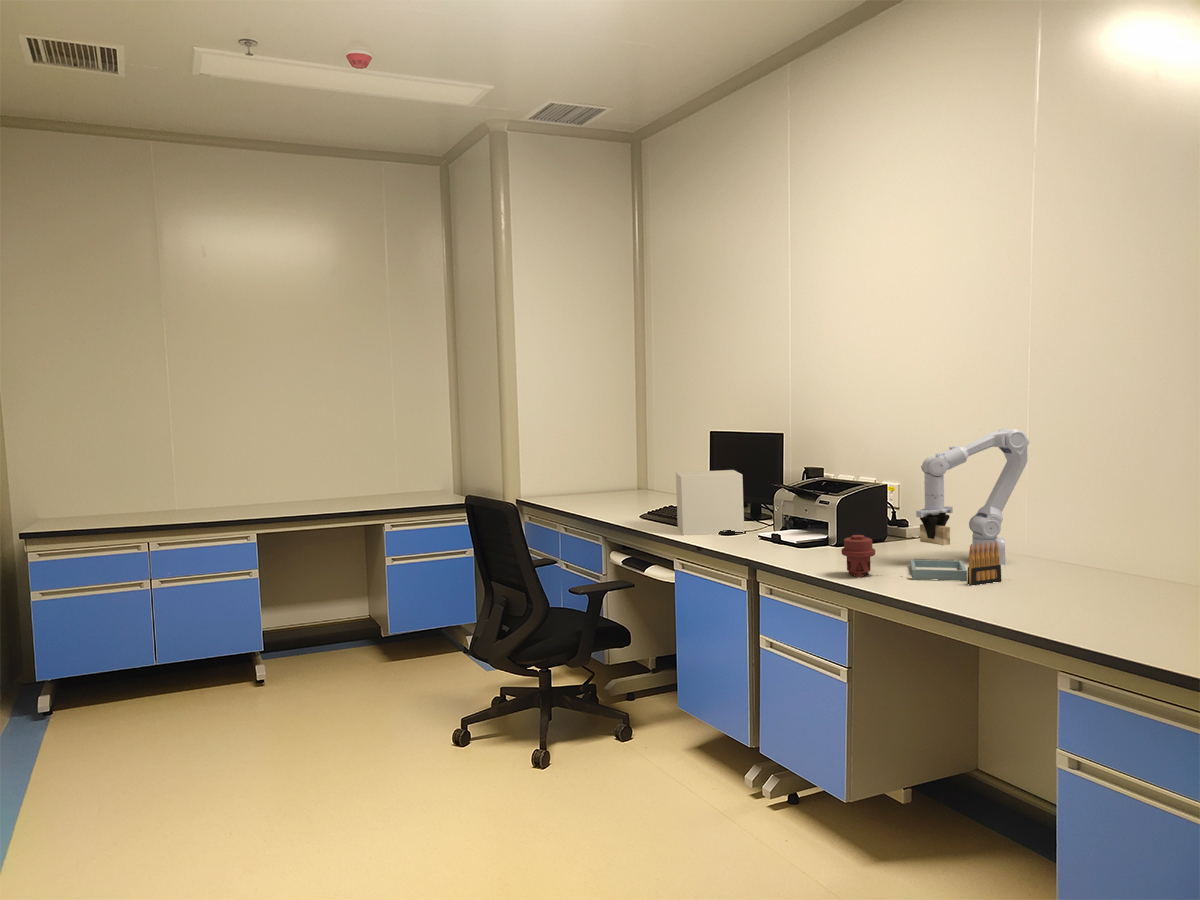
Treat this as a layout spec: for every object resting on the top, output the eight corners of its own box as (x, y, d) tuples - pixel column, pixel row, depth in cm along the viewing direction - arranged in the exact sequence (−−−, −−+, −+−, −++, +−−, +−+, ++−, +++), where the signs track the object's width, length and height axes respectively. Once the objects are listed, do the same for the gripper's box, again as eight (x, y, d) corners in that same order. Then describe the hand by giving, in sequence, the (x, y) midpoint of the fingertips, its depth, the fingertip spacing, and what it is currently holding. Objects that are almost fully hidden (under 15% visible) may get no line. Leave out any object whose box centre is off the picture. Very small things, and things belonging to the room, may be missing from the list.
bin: (962, 570, 266) (962, 560, 266) (967, 581, 252) (966, 571, 252) (910, 569, 271) (910, 559, 271) (912, 579, 257) (912, 569, 256)
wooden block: (926, 540, 277) (926, 523, 276) (950, 544, 269) (949, 526, 269) (920, 541, 275) (919, 524, 275) (943, 545, 267) (943, 527, 267)
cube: (735, 526, 372) (733, 469, 370) (744, 534, 351) (742, 474, 349) (677, 528, 372) (675, 472, 370) (683, 536, 350) (681, 477, 349)
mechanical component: (873, 572, 269) (877, 579, 259) (840, 571, 271) (843, 578, 261) (873, 533, 268) (876, 538, 258) (840, 533, 270) (842, 538, 260)
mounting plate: (953, 562, 278) (953, 559, 278) (956, 569, 269) (956, 565, 268) (914, 561, 282) (914, 558, 282) (915, 568, 272) (915, 564, 272)
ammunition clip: (971, 585, 246) (971, 544, 245) (967, 584, 248) (966, 543, 247) (1001, 582, 249) (1001, 541, 249) (997, 580, 251) (996, 540, 250)
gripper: (928, 498, 264) (929, 542, 265) (960, 494, 271) (960, 536, 272) (910, 496, 270) (911, 539, 271) (941, 492, 277) (942, 533, 278)
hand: (934, 537), depth 272 cm, fingers closed on wooden block, 3 cm apart
